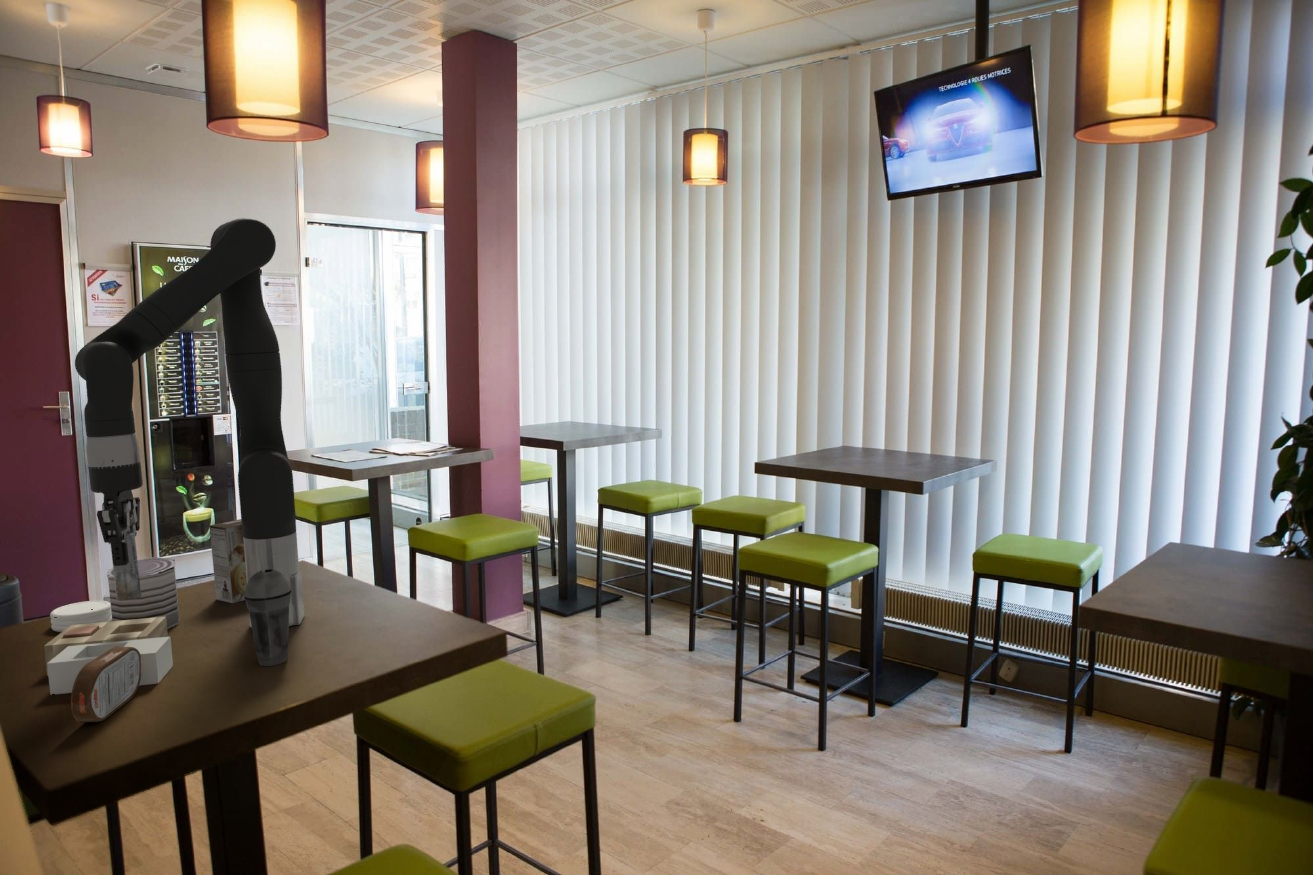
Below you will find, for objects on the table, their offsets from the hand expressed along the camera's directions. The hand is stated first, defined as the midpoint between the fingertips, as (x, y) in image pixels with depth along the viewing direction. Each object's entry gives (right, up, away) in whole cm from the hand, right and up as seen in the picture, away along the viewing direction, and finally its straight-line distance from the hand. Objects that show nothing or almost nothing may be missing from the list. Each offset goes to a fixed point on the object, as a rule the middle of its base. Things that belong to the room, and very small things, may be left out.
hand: (125, 561), depth 149 cm
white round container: (-21, -15, +21) cm, 34 cm away
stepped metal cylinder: (0, -6, +1) cm, 6 cm away
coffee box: (+3, -13, +37) cm, 40 cm away
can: (-7, -15, +19) cm, 25 cm away
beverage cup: (+26, -17, -2) cm, 31 cm away
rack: (+3, -18, -9) cm, 20 cm away
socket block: (-3, -17, +1) cm, 17 cm away
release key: (-7, -16, 0) cm, 17 cm away
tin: (+10, -19, -20) cm, 30 cm away
